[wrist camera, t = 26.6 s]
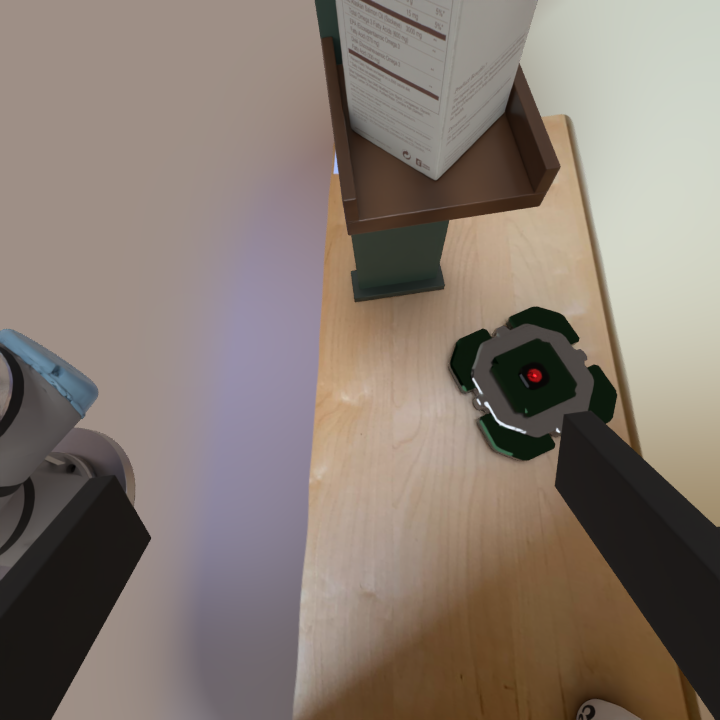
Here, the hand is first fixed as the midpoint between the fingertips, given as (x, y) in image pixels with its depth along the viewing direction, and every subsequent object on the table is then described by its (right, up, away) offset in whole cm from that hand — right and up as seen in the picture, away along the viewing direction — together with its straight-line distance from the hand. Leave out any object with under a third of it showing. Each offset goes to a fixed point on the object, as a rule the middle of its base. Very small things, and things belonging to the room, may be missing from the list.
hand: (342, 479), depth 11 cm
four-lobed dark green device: (+24, 0, +40) cm, 47 cm away
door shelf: (+6, +16, +22) cm, 28 cm away
